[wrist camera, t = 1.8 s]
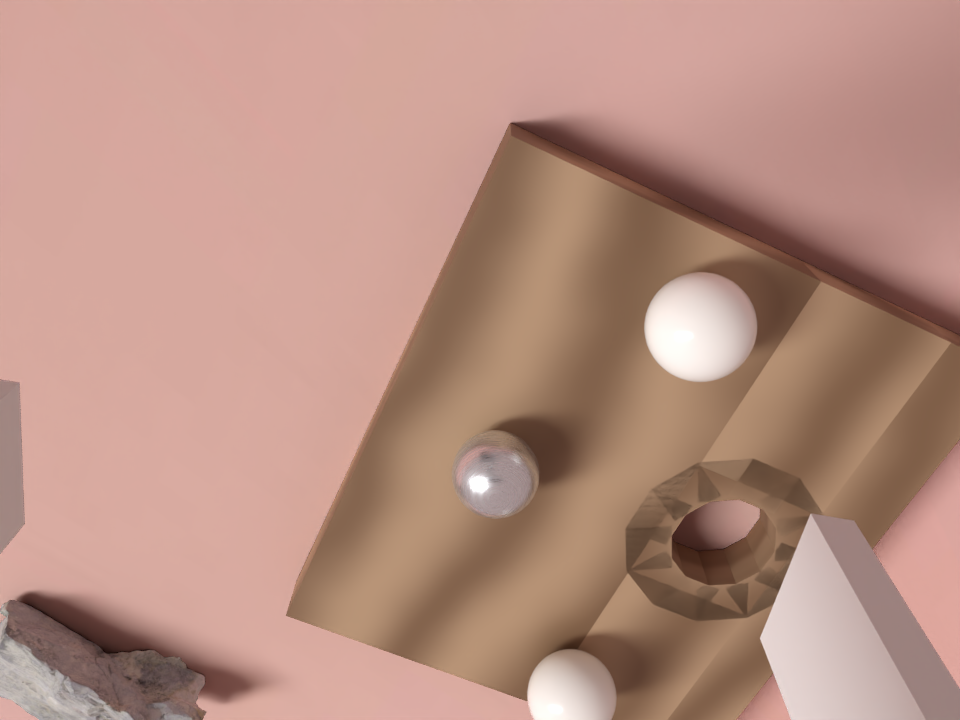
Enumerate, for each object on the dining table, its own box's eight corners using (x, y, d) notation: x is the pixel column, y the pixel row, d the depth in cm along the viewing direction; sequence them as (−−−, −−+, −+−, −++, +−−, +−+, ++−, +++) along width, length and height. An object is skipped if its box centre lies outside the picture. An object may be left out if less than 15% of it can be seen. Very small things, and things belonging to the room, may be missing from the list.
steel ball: (440, 468, 38) (435, 517, 35) (474, 401, 36) (472, 445, 33) (515, 498, 38) (517, 548, 35) (551, 433, 37) (557, 480, 34)
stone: (177, 746, 49) (154, 813, 45) (-46, 663, 46) (-91, 727, 42) (225, 667, 47) (204, 730, 43) (-8, 575, 44) (-52, 634, 40)
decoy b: (511, 678, 43) (513, 746, 39) (549, 618, 41) (554, 684, 37) (586, 705, 43) (594, 774, 40) (626, 647, 42) (638, 714, 38)
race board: (296, 580, 43) (286, 615, 41) (510, 122, 34) (511, 135, 32) (691, 723, 47) (701, 763, 45) (982, 346, 38) (1013, 372, 35)
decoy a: (618, 330, 35) (632, 375, 31) (669, 240, 33) (691, 277, 30) (707, 369, 36) (731, 417, 32) (761, 283, 34) (793, 324, 30)
